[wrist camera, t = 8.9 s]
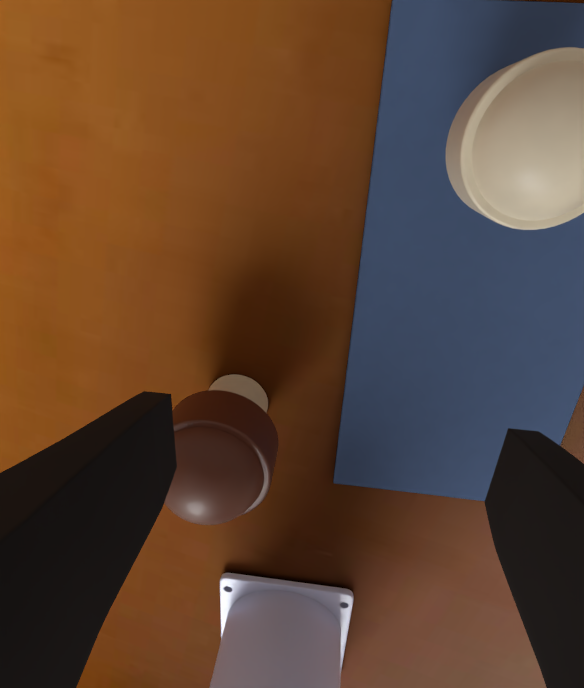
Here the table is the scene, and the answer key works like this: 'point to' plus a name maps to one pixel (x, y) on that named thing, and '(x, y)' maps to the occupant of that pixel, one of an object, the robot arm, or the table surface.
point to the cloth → (455, 272)
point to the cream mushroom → (523, 142)
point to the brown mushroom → (222, 452)
